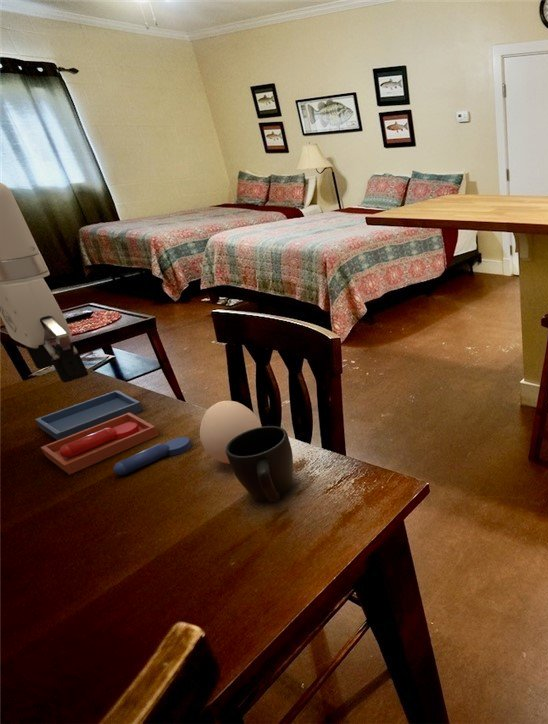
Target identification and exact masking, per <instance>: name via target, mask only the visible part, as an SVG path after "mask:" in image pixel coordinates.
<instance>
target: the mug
mask: <svg viewBox="0 0 548 724" xmlns="http://www.w3.org/2000/svg"><path fill="white" fill-rule="evenodd" d="M225 451H226V454H227V457H228V460H229V463H230V464H229V463H228V464H229V465H230V468H231V471H232V472H233V474H234V476H235V477H236V479H237V480H238V482H239V483H240V484H241V486H242V487H243V488H244V489H245V490H246V491H247V492H248V493H249V494H250V495H251V497H252V499H254V500H255V501H256V502H260V503H268V502H272V503H274V502H277V501H278V500H279V499H280V498H282V497H284V496H285V495H287V494H288V493H289V492H290V491H291V488H292V487H293V474H294V455H293V449H292V445H291V442H290V438H289V434H288V432H287V430H286V429H285V428H283V427H281V426H276V425H266V426H265V425H264V426H261V427H259V428H255V429H251V430H248V431H246V432H243V433H241V434H240V435H238V436H236V437H235V438H233V439H232V440H231V441H230V442H229V443H228V444H227V446H226V450H225Z"/></svg>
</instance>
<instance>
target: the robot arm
mask: <svg viewBox="0 0 548 724" xmlns="http://www.w3.org/2000/svg"><path fill="white" fill-rule="evenodd" d="M20 209H21V208H20V206H19V205H18V203H17V200H16V198H15V196H14V194H13V192H12V190H11V189H10V188H9V187H8V185H6V184H5V182H2V181H0V318H1V320H2V322H3V325H4V327H5V329H6V331H7V334H8V335H9V336H10V338H11V339H13V340H14V341H16V342H18V343H20V344H21V345H24V346H26V347H25V349H26V351H27V353H28V354H29V357H30V358H31V361H32V362H33V364H34V367H35V368H36V369H38V370H42V369H43V370H44V369H46V368H50V367H53V368H54V370H55V371H56V373H57V375H58V377H59V379H60V381H61V382H62V383H65V384H66V383H69V382H72V381H75V380H78V379H81V378H84V377H87V376H88V375H89V372H88V370H87V368H86V366H85V364H84V361H83V359H82V358H81V357H82V356H81V355H80V353H79V351H78V349H77V348H76V347H75V344H74V342H72V341H71V338H72V331H71V328H70V326H69V324H68V322H67V319H66V318H65V315H64V313H63V312H62V309H61V308H60V306H59V304H58V301H57V300H56V299H55V295H54V294H53V293H52V290H51V289H50V287H49V286H48V283H47V282H46V281H45V278H46V277H48V276H50V274H51V273H50V271H49V269H48V266H47V265H46V262H45V260H44V258H43V256H42V253H41V252H40V250H39V247H38V246H37V243H36V241H35V239H34V236H33V235H32V232H31V230H30V228H29V226H28V224H27V222H26V219H25V218H24V215H23V213H22V211H21V210H20Z"/></svg>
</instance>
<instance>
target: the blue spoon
mask: <svg viewBox="0 0 548 724" xmlns="http://www.w3.org/2000/svg"><path fill="white" fill-rule="evenodd" d="M191 448H192V442H191V439H190V438H189V437H187V436H180V437H175V438H172V439H170V440H168V441H166V442H165V443H157V444H154V445H153V446H150V447H148V448H146V449H144V450H142V451H140V452H137V453H135V454H133V455H131V456H129V457H127V458H125V459H122V460H120V461H118V462H116V463H115V464H114V465H113V469H112V470H113V473H114V474H115V475H117V476H120V477H121V476H126V475H128V474H132V473H133V472H135V471H137V470H139V469H141V468H143V467H145V466H147V465H149V464H151V463H154V462H155V461H158V460H160V459H162V458H164V457H166V456H177V455H181V454H183V453H185V452H187V451H188V450H189V449H191Z"/></svg>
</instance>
